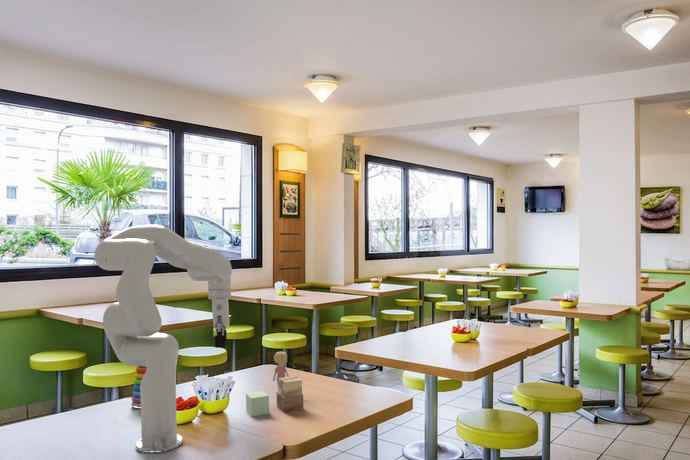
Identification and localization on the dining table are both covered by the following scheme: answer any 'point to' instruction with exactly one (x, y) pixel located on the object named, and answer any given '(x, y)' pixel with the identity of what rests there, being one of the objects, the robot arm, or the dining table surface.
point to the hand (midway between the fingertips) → (221, 344)
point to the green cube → (257, 403)
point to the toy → (280, 366)
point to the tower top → (290, 386)
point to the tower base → (289, 403)
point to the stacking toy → (138, 386)
